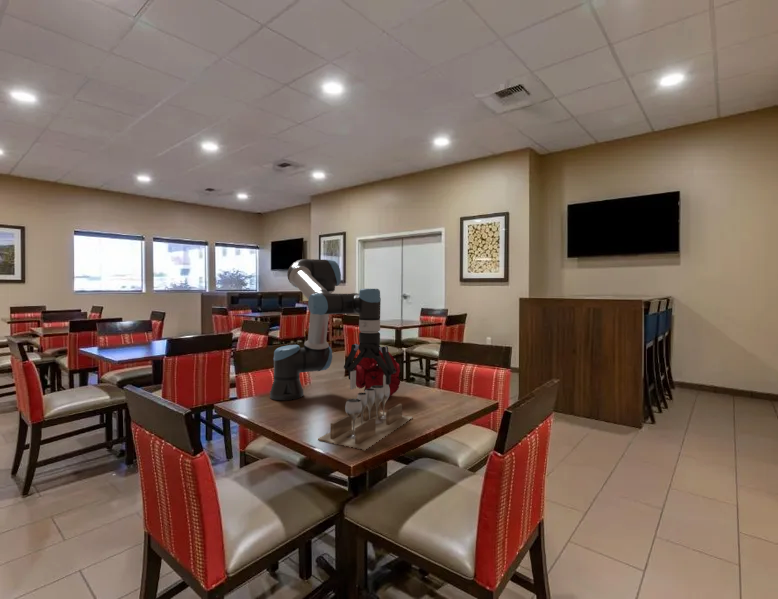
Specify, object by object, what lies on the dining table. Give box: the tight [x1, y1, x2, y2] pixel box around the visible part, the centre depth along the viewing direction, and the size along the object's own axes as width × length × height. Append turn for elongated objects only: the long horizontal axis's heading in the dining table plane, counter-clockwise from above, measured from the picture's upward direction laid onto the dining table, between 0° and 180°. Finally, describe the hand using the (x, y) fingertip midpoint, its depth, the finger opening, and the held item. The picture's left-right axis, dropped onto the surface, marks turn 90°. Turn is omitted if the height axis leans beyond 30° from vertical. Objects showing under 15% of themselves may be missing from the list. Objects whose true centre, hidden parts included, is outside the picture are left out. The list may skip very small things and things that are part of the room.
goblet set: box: [344, 385, 390, 439], centre depth 145 cm, size 28×6×13 cm, turn 155°
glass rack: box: [317, 403, 414, 451], centre depth 145 cm, size 18×36×6 cm, turn 153°
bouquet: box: [353, 351, 401, 397], centre depth 192 cm, size 22×24×30 cm
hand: (369, 391), depth 145 cm, fingers open, 13 cm apart
